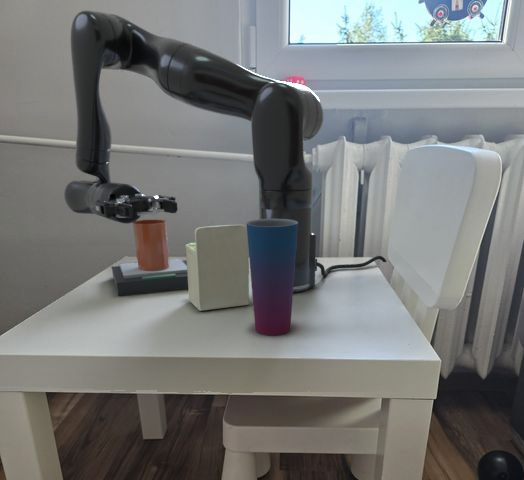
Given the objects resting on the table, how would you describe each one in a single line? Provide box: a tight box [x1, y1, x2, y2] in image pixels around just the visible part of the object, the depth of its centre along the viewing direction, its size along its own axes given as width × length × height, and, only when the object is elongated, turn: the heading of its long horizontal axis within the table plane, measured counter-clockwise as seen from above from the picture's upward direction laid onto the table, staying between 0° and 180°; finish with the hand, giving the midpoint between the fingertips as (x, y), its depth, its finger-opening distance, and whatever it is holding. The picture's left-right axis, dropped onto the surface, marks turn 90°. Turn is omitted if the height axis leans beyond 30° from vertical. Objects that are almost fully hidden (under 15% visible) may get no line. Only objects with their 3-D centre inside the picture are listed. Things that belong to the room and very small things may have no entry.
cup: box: [246, 219, 298, 336], centre depth 68 cm, size 7×7×15 cm
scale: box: [111, 258, 188, 297], centre depth 95 cm, size 15×13×3 cm
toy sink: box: [185, 224, 250, 312], centre depth 81 cm, size 8×7×13 cm
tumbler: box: [132, 218, 171, 271], centre depth 93 cm, size 6×6×8 cm
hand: (153, 209), depth 89 cm, fingers open, 8 cm apart
